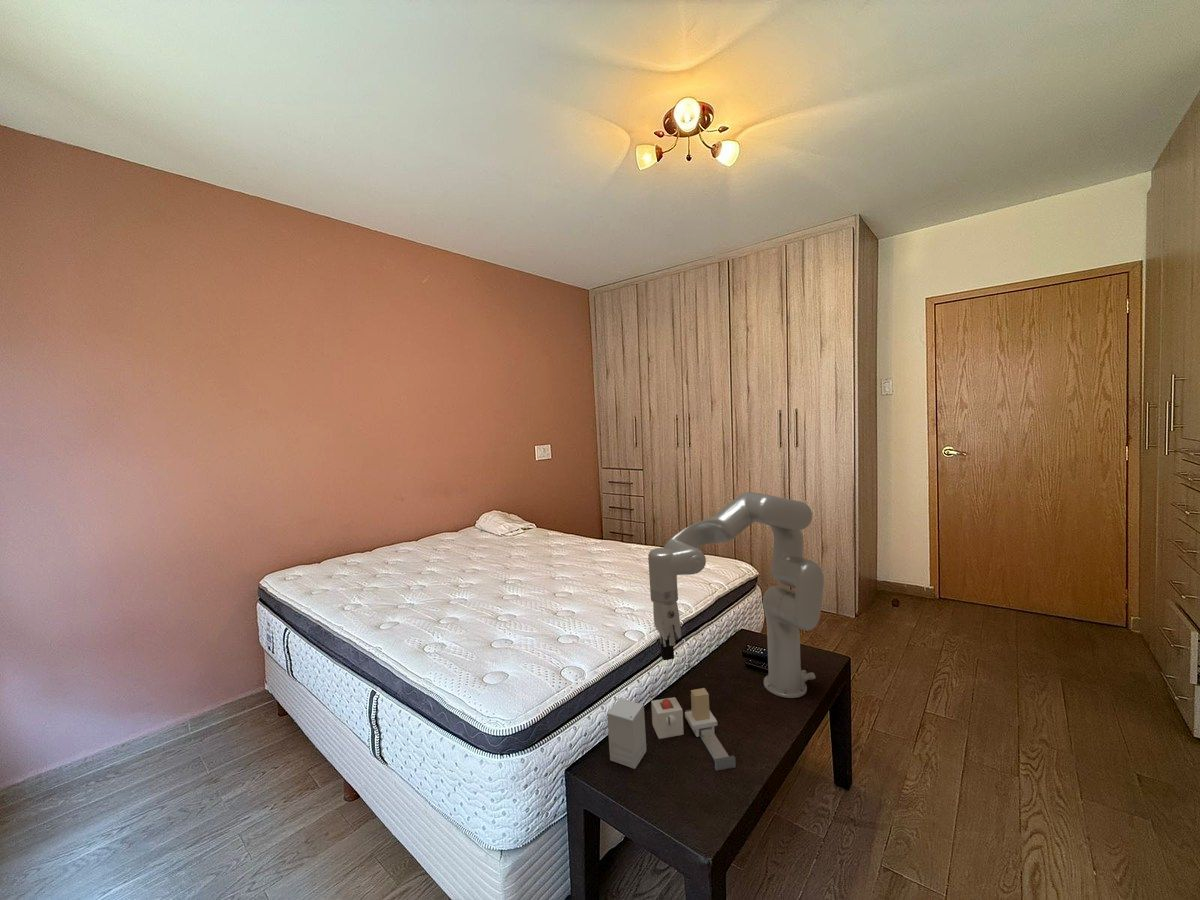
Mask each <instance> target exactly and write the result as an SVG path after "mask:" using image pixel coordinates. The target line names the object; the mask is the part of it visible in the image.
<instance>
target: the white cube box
mask: <svg viewBox="0 0 1200 900" xmlns="http://www.w3.org/2000/svg"><path fill="white" fill-rule="evenodd" d="M664 699H669V700H670V701H671V708H670V709H664V710H663V702H662V701H663V700H664ZM650 702H651V720H652V722H651V723H652V724H651V725H652V726H653V730H654V731H655V733H656V736H657V738H658V740H660V739H661V740H663V739H667V738H672V737H676V736H682V735H684V732H685V731H684V711H683V708H682V706H681V705H680V703H679V701H678V700H677V698H676V697H675V696H674V697H667V698H666V697H665V698H662V699H661V698H660V699H655V700H651V701H650Z"/></svg>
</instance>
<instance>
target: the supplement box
mask: <svg viewBox="0 0 1200 900" xmlns="http://www.w3.org/2000/svg"><path fill="white" fill-rule="evenodd" d="M606 719H607V731H608V732H607V733H608V746H609V747H608V748H609V750H608V751H609V761H611V762H613V763H617V764H620V765H623V766H626V767H629V768H631V769H634V770H635V769H637V767H638V766H639V764H640V762H641V760H642V759H643V758H644V755H646V753H647V736H646V720H645V719H646V718H645V705H644V704H642V703H639V702H636V701H632V700H628V699H626V698H622V697H620V698H619V699H618V700H617V701H616V702H615V703H614V704H613V705H612V707H611V708H610V709H609V710H608V711H607V712H606Z"/></svg>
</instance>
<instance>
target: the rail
mask: <svg viewBox="0 0 1200 900" xmlns="http://www.w3.org/2000/svg"><path fill="white" fill-rule="evenodd" d="M689 711H692V708H690V709H686V710H685V712H689ZM685 712H684V713H685ZM685 720H686V721H687V719H686V718H685ZM699 737H700V738H701V740H702V742H703V744H704V745H705V748H706V749H707V750H708V752H709V754H710V755H711V757H712V759H713V761H714V769H715V771H716V772H718V771H724V770H729V769H733V768H737V767H736V757H735V755H729V754H728V752H727V751H726V749H725V748H724V746H723V744H722V743H721V741H720V740H719V739H718V737H717V735H716V734H714V732H713V731H712V729H711V728H710V727H707V728H701V729H699Z"/></svg>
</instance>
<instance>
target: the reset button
mask: <svg viewBox="0 0 1200 900" xmlns="http://www.w3.org/2000/svg"><path fill="white" fill-rule="evenodd" d="M663 699H664V700H663V701H662V702H663V710H664V709H670V708H671V701H670V700H669V699H666V698H663Z"/></svg>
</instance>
